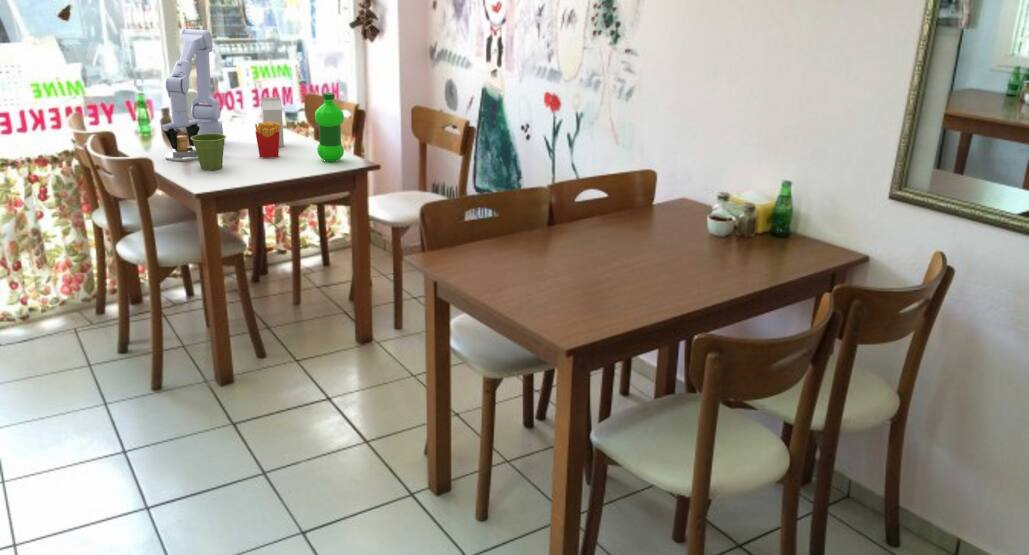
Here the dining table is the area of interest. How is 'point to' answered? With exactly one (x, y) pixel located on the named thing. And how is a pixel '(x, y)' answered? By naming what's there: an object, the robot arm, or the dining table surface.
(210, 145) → the plant pot
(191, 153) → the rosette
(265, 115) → the milk carton
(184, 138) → the pin
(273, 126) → the french fries
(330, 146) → the plastic bottle
